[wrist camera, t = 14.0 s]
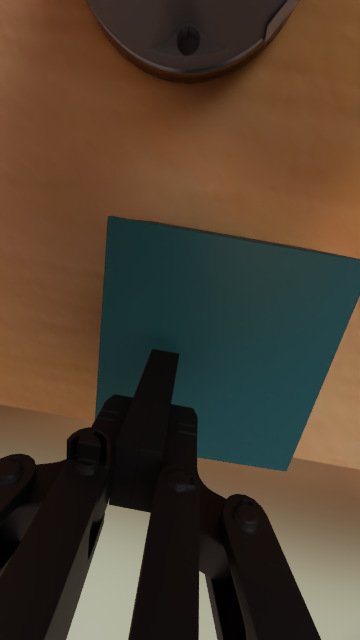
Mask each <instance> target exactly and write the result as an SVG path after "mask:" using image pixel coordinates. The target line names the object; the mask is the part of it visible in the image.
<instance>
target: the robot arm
mask: <svg viewBox="0 0 360 640" xmlns="http://www.w3.org/2000/svg"><path fill="white" fill-rule="evenodd" d="M299 1H300V0H87V2H88V4H89V6H90V8H91V10H92V12H93V14H94V16H95V18H96V20H97V22H98V24H99V25H100V27H101V28H102V30H103V32H104V33H105V34H106V36H107V37H108V39H109V40H110V41H111V43H112V44H113V45H114V46H115V47H116V48H117V49H118V50H119V52H120V53H122V54H123V55H124V56H125V57H126V58H127V59H128V60H129V61H131V62H132V63H133V64H135V65H136V66H137V67H139V68H140V69H142V70H144V71H145V72H147V73H149V74H151V75H154V76H156V77H158V78H162V79H165V80H168V81H174V82H181V83H196V82H204V81H209V80H213V79H216V78H219V77H222V76H224V75H226V74H229V73H231V72H233V71H235V70H236V69H238V68H240V67H242V66H243V65H244V64H246V63H247V62H249V61H250V60H251V59H253V58H254V57H255V56H256V55H257V54H258V53H260V52H261V51H262V50H263V49H264V48H265V47H266V46H267V45H268V44H269V43H270V42H271V40H272V39H273V38H274V37H275V36H276V34H277V33H278V32H279V31H280V29H281V28H282V26H283V25H284V24H285V22H286V21H287V19H288V18H289V16H290V14H291V13H292V11H293V9H294V7H295V6H296V4H297V3H298V2H299ZM178 360H179V353H173V352H168V351H162V350H157V349H152V351H151V353H150V356H149V358H148V361H147V363H146V366H145V369H144V371H143V374H142V376H141V379H140V381H139V384H138V386H137V389H136V392H135V394H134V397H127V396H122V395H116V394H114V395H112V396H111V397H110V398H109V399H107V400H106V401H105V403H104V405H103V406H102V408H101V411H100V412H99V414H98V416H97V419H95V421H94V423H93V425H92V427H90V428H89V427H88V428H84V429H80V430H78V431H76V432H75V433H73V434H72V435H71V436H70V437H69V438H68V439H67V459H65V460H63V461H60V462H55V463H48V464H39V465H36V464H35V461H34V460H33V459H32V458H31V457H30V456H29V455H24V454H14V455H9V456H6V457H4V458H1V459H0V640H66V638H67V635H68V632H69V628H70V626H71V622H72V619H73V616H74V613H75V610H76V607H77V604H78V601H79V598H80V595H81V591H82V588H83V585H84V582H85V579H86V576H87V573H88V570H89V567H90V564H91V560H92V557H93V554H94V551H95V548H96V545H97V542H98V539H99V536H100V533H101V530H102V527H103V523H104V516H105V510H106V507H107V504H108V501H109V505H114V506H119V507H124V508H130V509H135V510H140V511H145V512H150V513H151V514H150V520H149V526H148V531H147V537H146V542H145V548H144V554H143V560H142V565H141V570H140V576H139V582H138V588H137V594H136V599H135V605H134V610H133V616H132V622H131V627H130V633H129V638H128V640H198V635H199V633H198V632H199V631H198V630H199V623H198V622H199V571H201V572H202V573H204V574H205V577H206V583H207V588H208V593H209V598H210V603H211V608H212V614H213V618H214V623H215V629H216V634H217V639H218V640H321V638H320V636H319V634H318V632H317V629H316V627H315V625H314V622H313V620H312V618H311V616H310V613H309V611H308V609H307V606H306V604H305V602H304V599H303V597H302V595H301V592H300V590H299V588H298V586H297V583H296V581H295V579H294V576H293V574H292V572H291V570H290V567H289V565H288V563H287V561H286V558H285V556H284V554H283V552H282V549H281V547H280V544H279V542H278V540H277V537H276V535H275V533H274V531H273V529H272V526H271V524H270V521H269V519H268V517H267V515H266V513H265V512H264V510H263V508H262V507H261V506H260V505H259V504H258V503H257V502H256V501H255V500H254V499H252V498H250V497H248V496H246V495H241V494H235V495H232V496H229V497H228V498H227V499H225V498H223V497H222V496H220V495H218V494H216V493H214V492H213V491H211V490H210V489H208V488H207V487H206V486H205V485H204V484H203V482H202V481H201V479H200V477H199V475H198V471H197V435H198V428H197V427H198V416H197V414H196V412H195V410H194V408H191V407H186V406H180V405H175V404H171V402H172V396H173V390H174V384H175V378H176V372H177V366H178ZM109 498H110V499H109Z"/></svg>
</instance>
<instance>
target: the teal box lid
mask: <svg viewBox="0 0 360 640" xmlns="http://www.w3.org/2000/svg"><path fill="white" fill-rule="evenodd" d="M359 296H360V259H354V258H349V257H343V256H337V255H332V254H326V253H320V252H314V251H309V250H303V249H297V248H292V247H286V246H280V245H274V244H269V243H263V242H257V241H251V240H246V239H240V238H234V237H229V236H223V235H217V234H211V233H206V232H200V231H194V230H189V229H183V228H177V227H171V226H166V225H160V224H154V223H149V222H143V221H137V220H131V219H126V218H120V217H114V216H108V223H107V239H106V255H105V271H104V286H103V302H102V318H101V334H100V349H99V365H98V381H97V397H96V412H95V419H97V416H98V414H99V412H100V411H101V408H102V406H103V405H104V403H105V401H106V400H107V399H109V398H110V397H111V396H112V395H114V394H116V395H122V396H127V397H134V394H135V392H136V389H137V386H138V384H139V381H140V379H141V376H142V374H143V371H144V369H145V366H146V363H147V361H148V358H149V356H150V353H151V351H152V349H157V350H162V351H168V352H173V353H179V360H178V366H177V372H176V378H175V384H174V390H173V396H172V402H171V404H175V405H180V406H186V407H191V408H194V410H195V412H196V414H197V416H198V427H197V428H198V435H197V457H198V458H205V459H211V460H217V461H223V462H229V463H236V464H242V465H248V466H255V467H261V468H267V469H273V470H280V471H287V469H288V466H289V464H290V461H291V459H292V457H293V454H294V452H295V450H296V447H297V445H298V442H299V440H300V438H301V435H302V433H303V430H304V428H305V426H306V423H307V421H308V418H309V416H310V413H311V411H312V409H313V406H314V404H315V401H316V399H317V397H318V394H319V392H320V389H321V387H322V385H323V382H324V380H325V377H326V375H327V373H328V370H329V368H330V365H331V363H332V361H333V358H334V356H335V353H336V351H337V349H338V346H339V344H340V341H341V339H342V337H343V334H344V332H345V329H346V327H347V324H348V322H349V320H350V317H351V315H352V312H353V310H354V308H355V305H356V303H357V300H358V298H359Z"/></svg>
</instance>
